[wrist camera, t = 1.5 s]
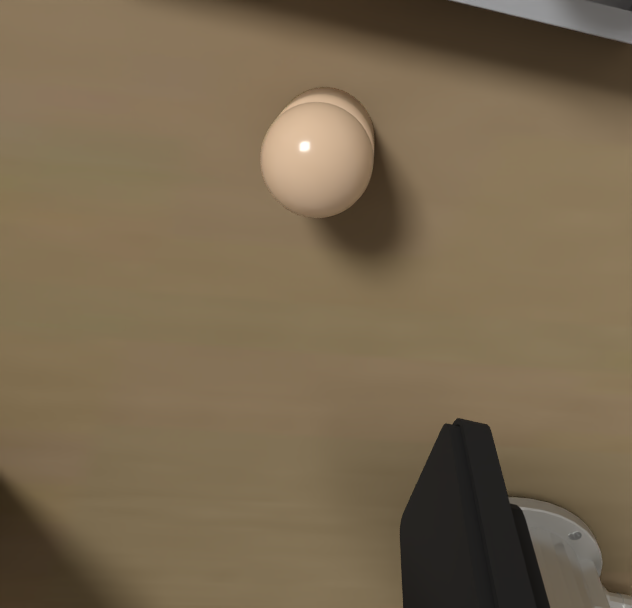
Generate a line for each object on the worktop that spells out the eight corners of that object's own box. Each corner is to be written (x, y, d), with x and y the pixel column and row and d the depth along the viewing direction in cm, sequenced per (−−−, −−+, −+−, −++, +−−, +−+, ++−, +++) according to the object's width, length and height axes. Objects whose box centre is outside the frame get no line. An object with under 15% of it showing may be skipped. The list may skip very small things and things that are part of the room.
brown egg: (385, 100, 26) (387, 129, 20) (360, 196, 28) (356, 246, 23) (285, 76, 26) (260, 99, 20) (269, 175, 28) (241, 220, 23)
